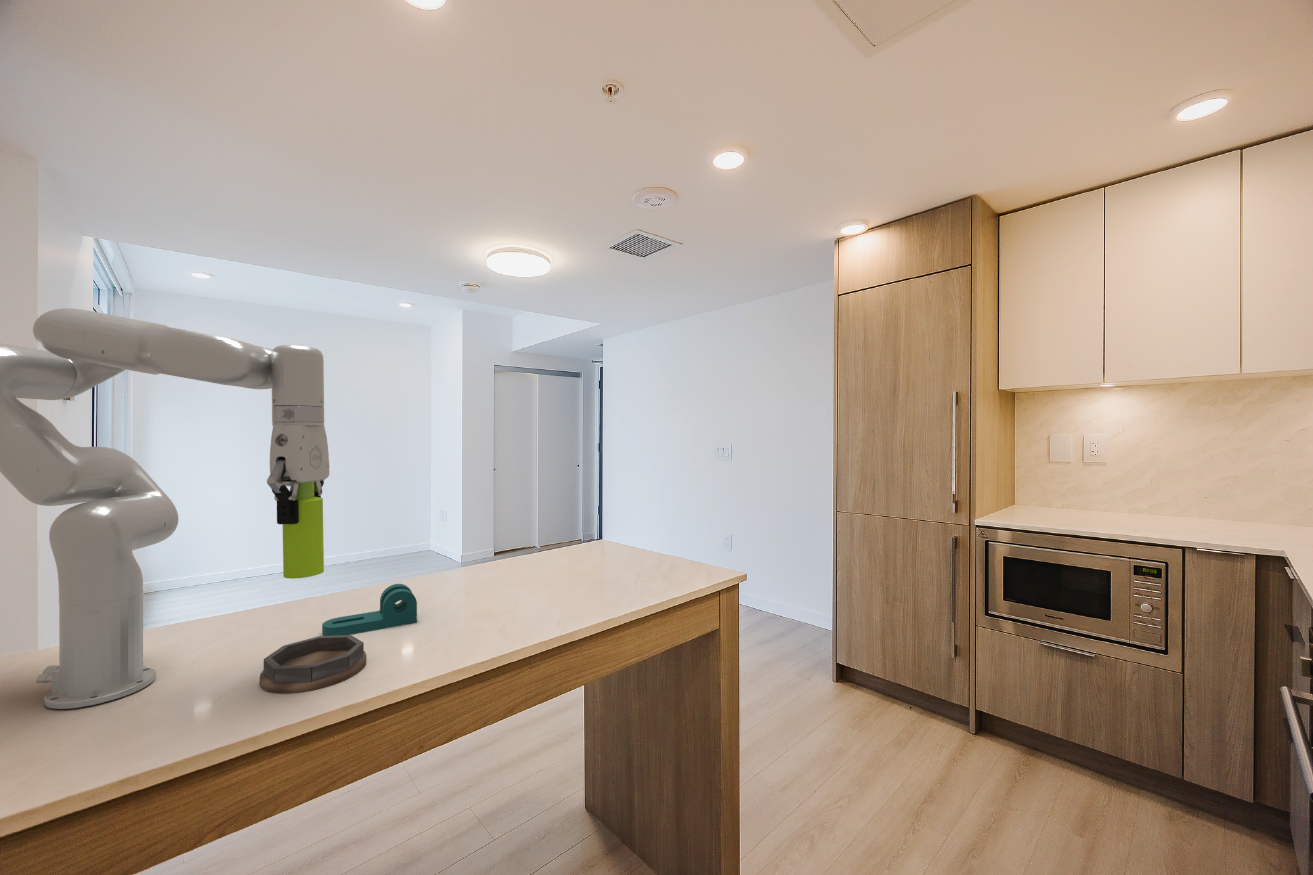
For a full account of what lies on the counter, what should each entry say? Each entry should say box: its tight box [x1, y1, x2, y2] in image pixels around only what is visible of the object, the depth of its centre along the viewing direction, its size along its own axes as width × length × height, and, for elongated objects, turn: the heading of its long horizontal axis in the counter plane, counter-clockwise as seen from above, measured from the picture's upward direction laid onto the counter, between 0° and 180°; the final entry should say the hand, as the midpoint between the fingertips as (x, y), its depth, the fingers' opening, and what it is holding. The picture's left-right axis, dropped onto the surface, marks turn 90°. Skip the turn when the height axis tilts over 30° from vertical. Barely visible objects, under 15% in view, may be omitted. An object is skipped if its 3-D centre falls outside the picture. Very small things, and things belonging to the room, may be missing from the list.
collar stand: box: [259, 634, 367, 694], centre depth 94 cm, size 16×16×4 cm
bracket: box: [321, 583, 418, 636], centre depth 116 cm, size 18×7×8 cm, turn 124°
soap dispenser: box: [282, 480, 325, 579], centre depth 91 cm, size 6×7×20 cm
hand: (299, 519), depth 91 cm, fingers closed on soap dispenser, 5 cm apart
